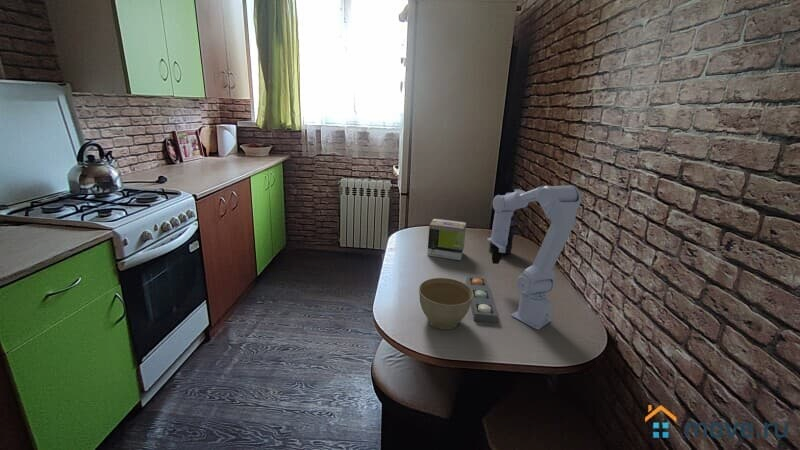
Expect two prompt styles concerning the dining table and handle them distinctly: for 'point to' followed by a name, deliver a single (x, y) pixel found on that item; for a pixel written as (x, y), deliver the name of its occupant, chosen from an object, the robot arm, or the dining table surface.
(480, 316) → the button panel
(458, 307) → the planter bowl
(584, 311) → the dining table surface
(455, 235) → the tea box
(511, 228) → the storage jar
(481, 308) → the cream button
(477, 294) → the sage button
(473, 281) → the orange button
